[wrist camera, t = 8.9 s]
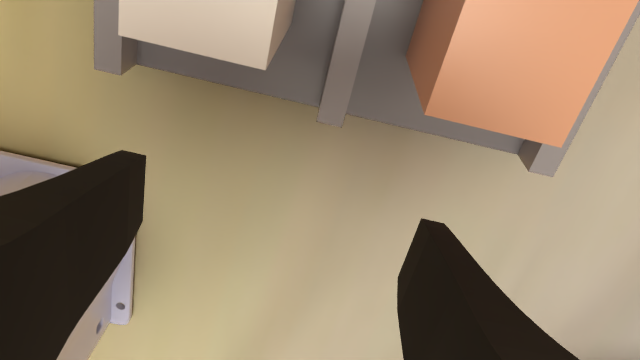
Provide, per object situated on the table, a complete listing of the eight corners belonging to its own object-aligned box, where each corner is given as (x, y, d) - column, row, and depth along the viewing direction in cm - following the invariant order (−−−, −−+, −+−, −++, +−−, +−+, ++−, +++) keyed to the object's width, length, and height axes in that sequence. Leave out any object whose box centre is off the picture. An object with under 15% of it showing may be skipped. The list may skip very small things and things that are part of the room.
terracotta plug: (505, 81, 19) (561, 147, 14) (405, 56, 19) (424, 114, 14) (579, -92, 16) (686, -90, 11) (462, -123, 16) (514, -137, 11)
